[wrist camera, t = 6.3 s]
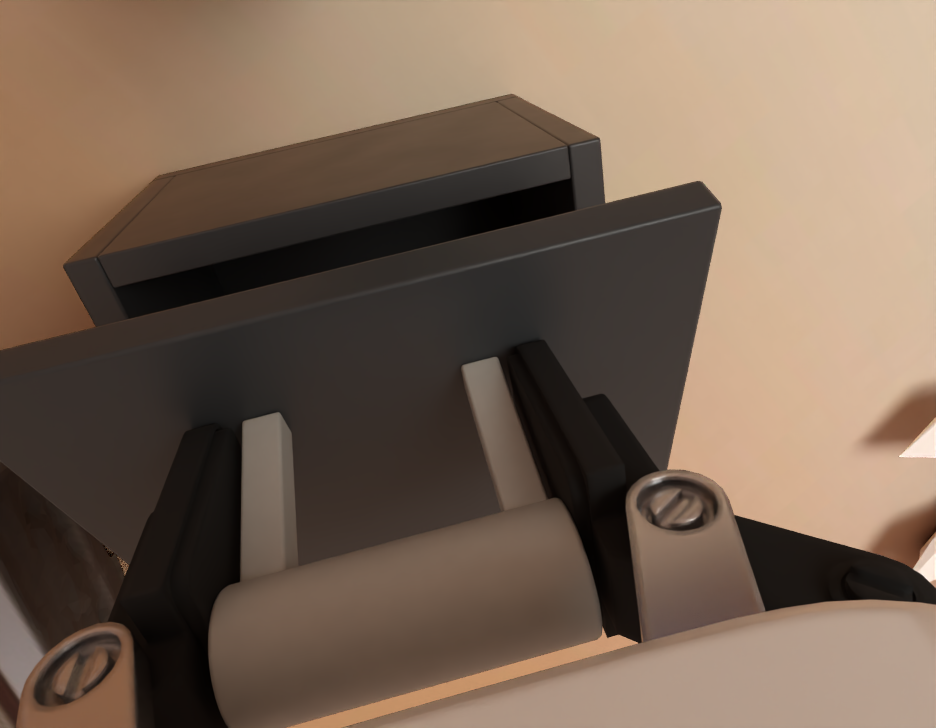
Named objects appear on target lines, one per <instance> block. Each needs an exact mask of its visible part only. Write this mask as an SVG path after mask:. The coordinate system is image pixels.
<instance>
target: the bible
mask: <svg viewBox="0 0 936 728" xmlns="http://www.w3.org/2000/svg"><path fill="white" fill-rule="evenodd" d="M124 578H125V577H124V575H123V572H122V569H121V566H120V564H119V561H118V559H117V557H116V554H114V555H113V556H112V557H109V555H108V553H107V552H106V550H105V548H104V546H103V545H102V543H101V542H100V541H99V540H97V539H96V538H95V537H94V536H92V535H91V534H90V533H89V532H87V531H86V530H85V529H84V528H82V527H81V526H80V525H79V524H77V523H76V522H75V521H74V520H72V519H71V518H70V517H69V516H67V515H66V514H65V513H64V512H63V511H61V510H60V509H59V508H58V507H56V506H55V505H54V504H53V503H51V502H50V501H49V500H48V499H46V498H45V497H44V496H43V495H41V494H40V493H39V492H38V491H36V490H35V489H34V488H33V487H31V486H30V485H29V484H28V483H26V482H25V481H24V480H23V479H21V478H20V477H19V476H18V475H16V474H15V473H14V472H13V471H11V470H10V469H9V468H8V467H7V466H5V465H4V464H3V463H2V462H0V728H15V727H16V723H17V716H18V710H19V704H20V697H21V693H22V690H23V687H24V684H25V681H26V679H27V678H28V676H29V675H30V673H31V672H32V670H33V669H34V667H35V665H36V664H37V663H38V662H39V661H40V660H41V659H42V658H43V657H44V656H45V655H46V654H47V653H48V652H49V651H50V650H51V649H52V648H54V647H55V646H56V645H57V644H59V643H60V642H61V641H62V640H64V639H65V638H67V637H69V636H71V635H72V634H74V633H76V632H77V631H79V630H81V629H84V628H87V627H89V626H92V625H95V624H98V623H106V622H107V621H108V619H109V616H110V613H111V611H112V608H113V606H114V603H115V601H116V598H117V596H118V593H119V590H120V588H121V585H122V583H123V580H124Z"/></svg>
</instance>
